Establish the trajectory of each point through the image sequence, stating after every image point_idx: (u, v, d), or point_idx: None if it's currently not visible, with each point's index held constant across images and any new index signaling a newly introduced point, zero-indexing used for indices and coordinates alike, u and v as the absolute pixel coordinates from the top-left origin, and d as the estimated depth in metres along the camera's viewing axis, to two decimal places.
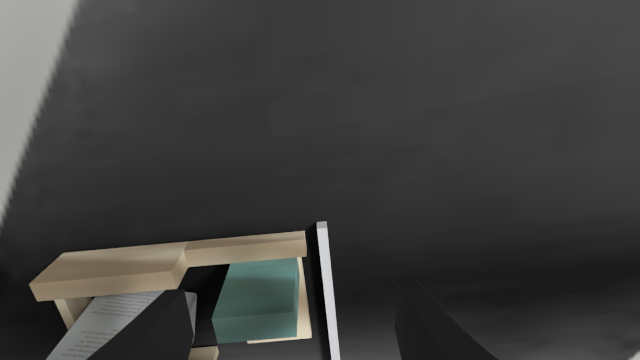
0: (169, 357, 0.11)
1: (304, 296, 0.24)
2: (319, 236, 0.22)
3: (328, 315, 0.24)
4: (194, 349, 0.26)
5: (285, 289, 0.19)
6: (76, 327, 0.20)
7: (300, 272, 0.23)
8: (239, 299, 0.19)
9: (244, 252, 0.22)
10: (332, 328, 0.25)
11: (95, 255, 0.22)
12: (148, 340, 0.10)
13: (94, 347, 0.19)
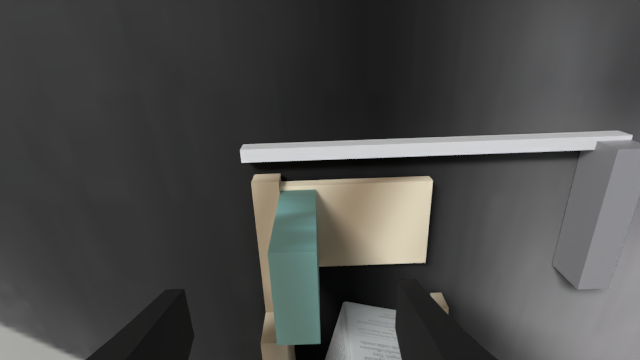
0: (169, 357, 0.11)
1: (353, 185, 0.16)
2: (253, 160, 0.16)
3: (393, 154, 0.16)
4: None
5: None
6: None
7: (311, 188, 0.16)
8: None
9: None
10: (420, 149, 0.16)
11: None
12: (148, 340, 0.10)
13: None
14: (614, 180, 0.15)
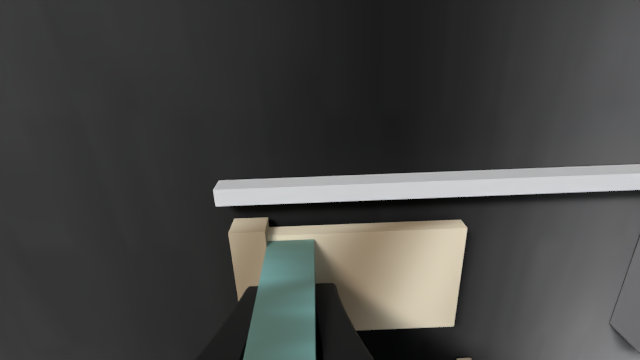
0: None
1: (363, 234, 0.13)
2: (231, 202, 0.12)
3: (417, 195, 0.12)
4: None
5: None
6: None
7: (308, 237, 0.13)
8: None
9: None
10: (452, 188, 0.12)
11: None
12: None
13: None
14: None
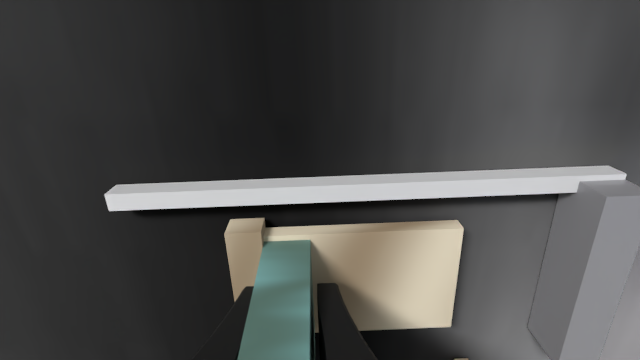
0: None
1: (360, 234, 0.13)
2: (125, 207, 0.12)
3: (310, 199, 0.12)
4: None
5: None
6: None
7: (304, 238, 0.13)
8: None
9: None
10: (345, 193, 0.12)
11: None
12: None
13: None
14: (602, 236, 0.11)
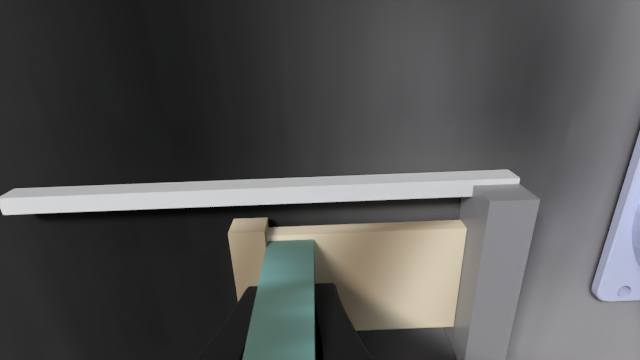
0: None
1: (363, 234, 0.13)
2: (19, 211, 0.12)
3: (205, 203, 0.12)
4: None
5: None
6: None
7: (308, 237, 0.13)
8: None
9: None
10: (239, 197, 0.12)
11: None
12: None
13: None
14: (491, 240, 0.11)
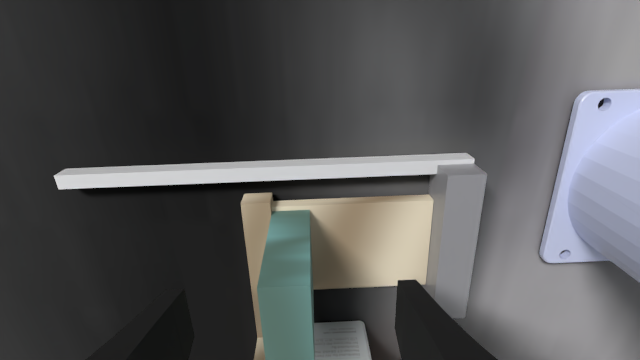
0: (169, 357, 0.11)
1: (350, 205, 0.16)
2: (71, 186, 0.15)
3: (222, 179, 0.15)
4: None
5: None
6: None
7: (305, 208, 0.16)
8: None
9: None
10: (250, 174, 0.15)
11: None
12: (148, 340, 0.10)
13: None
14: (450, 207, 0.14)
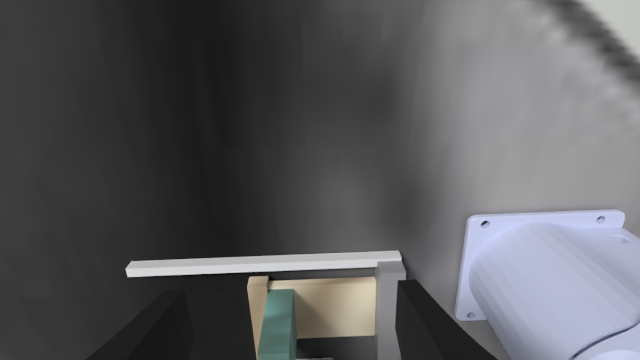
0: (169, 357, 0.11)
1: (320, 285, 0.23)
2: (136, 275, 0.23)
3: (235, 270, 0.23)
4: None
5: None
6: None
7: (290, 287, 0.23)
8: None
9: (261, 331, 0.24)
10: (253, 267, 0.23)
11: None
12: (148, 340, 0.10)
13: None
14: (384, 291, 0.22)
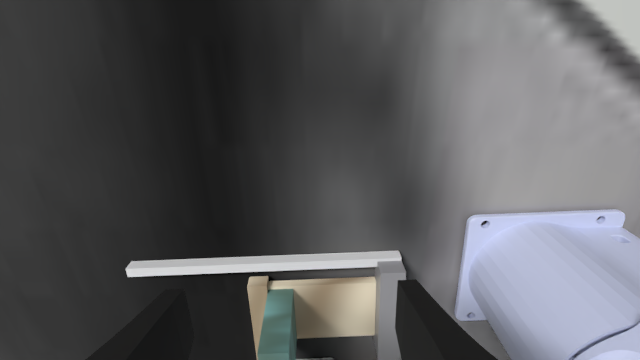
0: (169, 357, 0.11)
1: (320, 285, 0.23)
2: (136, 275, 0.23)
3: (235, 270, 0.23)
4: None
5: None
6: None
7: (290, 287, 0.23)
8: None
9: (261, 331, 0.24)
10: (253, 267, 0.23)
11: None
12: (148, 340, 0.10)
13: None
14: (384, 291, 0.22)
